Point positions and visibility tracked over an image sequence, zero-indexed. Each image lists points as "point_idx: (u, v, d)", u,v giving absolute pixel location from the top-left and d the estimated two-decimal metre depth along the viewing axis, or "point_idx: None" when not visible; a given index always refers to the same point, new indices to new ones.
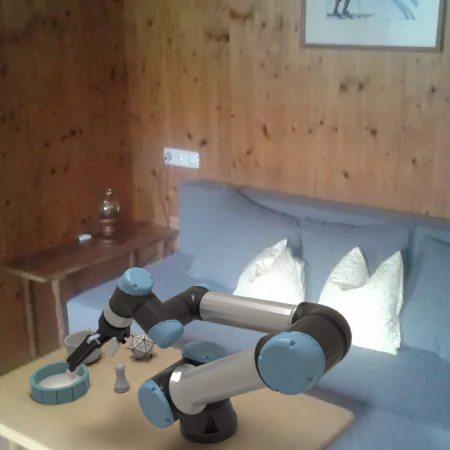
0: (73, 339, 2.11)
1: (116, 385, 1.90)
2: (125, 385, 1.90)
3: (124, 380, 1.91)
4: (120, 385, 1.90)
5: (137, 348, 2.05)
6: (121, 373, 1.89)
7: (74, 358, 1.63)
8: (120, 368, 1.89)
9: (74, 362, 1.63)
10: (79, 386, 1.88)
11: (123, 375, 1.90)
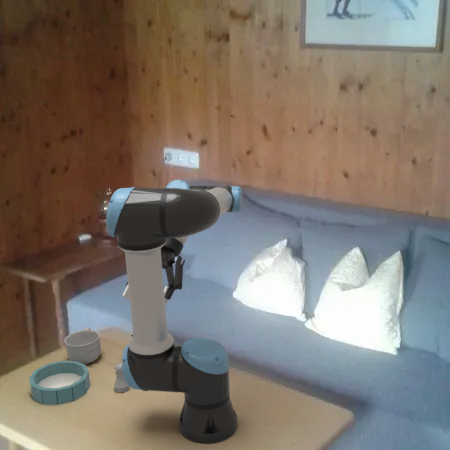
0: (73, 339, 2.11)
1: (116, 385, 1.90)
2: (125, 385, 1.90)
3: (124, 380, 1.91)
4: (120, 385, 1.90)
5: None
6: (121, 373, 1.89)
7: None
8: (120, 368, 1.89)
9: None
10: (79, 386, 1.88)
11: None
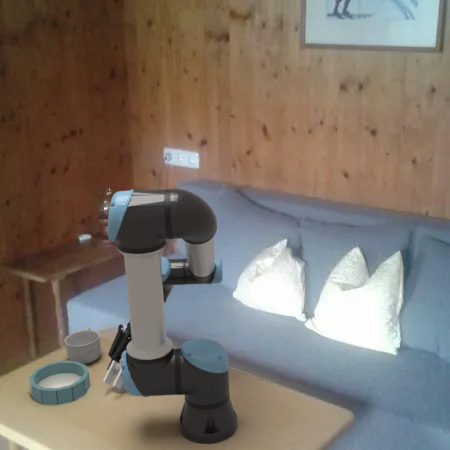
0: (73, 339, 2.11)
1: None
2: None
3: None
4: None
5: None
6: None
7: None
8: (120, 368, 1.89)
9: None
10: (79, 386, 1.88)
11: None
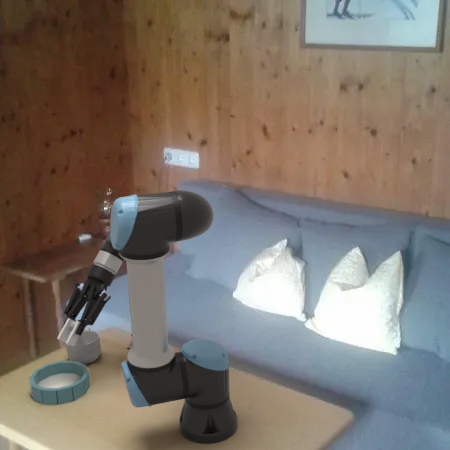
0: None
1: None
2: (80, 343, 1.90)
3: (79, 338, 1.90)
4: (75, 343, 1.89)
5: None
6: None
7: None
8: None
9: None
10: (79, 386, 1.88)
11: None
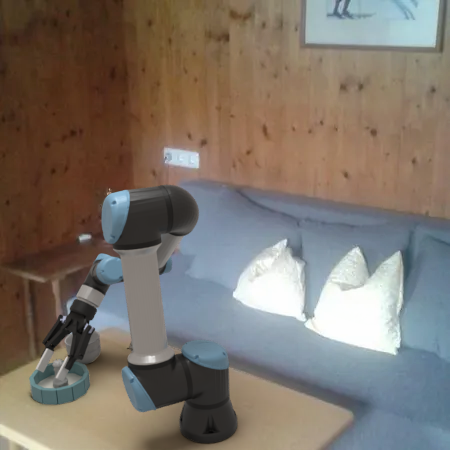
0: None
1: (54, 382, 1.91)
2: (63, 382, 1.91)
3: None
4: (58, 382, 1.91)
5: None
6: None
7: None
8: (58, 365, 1.90)
9: None
10: (79, 386, 1.88)
11: None
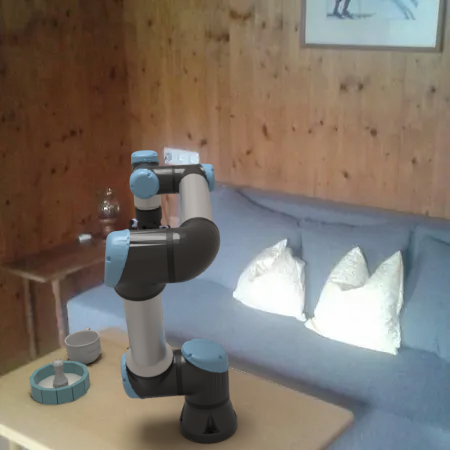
0: (73, 339, 2.11)
1: (54, 382, 1.91)
2: (63, 382, 1.91)
3: (62, 377, 1.91)
4: (58, 382, 1.91)
5: None
6: (59, 370, 1.90)
7: None
8: (58, 365, 1.90)
9: None
10: (79, 386, 1.88)
11: (61, 372, 1.91)
